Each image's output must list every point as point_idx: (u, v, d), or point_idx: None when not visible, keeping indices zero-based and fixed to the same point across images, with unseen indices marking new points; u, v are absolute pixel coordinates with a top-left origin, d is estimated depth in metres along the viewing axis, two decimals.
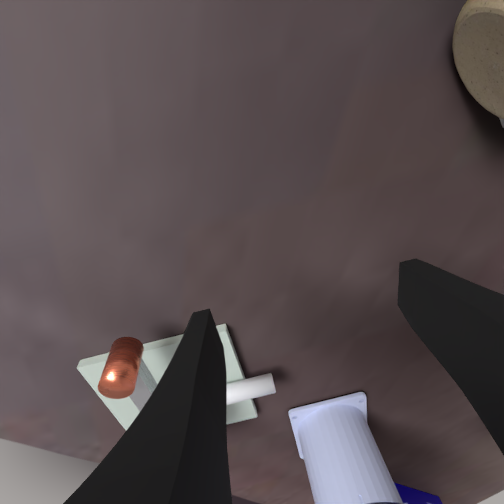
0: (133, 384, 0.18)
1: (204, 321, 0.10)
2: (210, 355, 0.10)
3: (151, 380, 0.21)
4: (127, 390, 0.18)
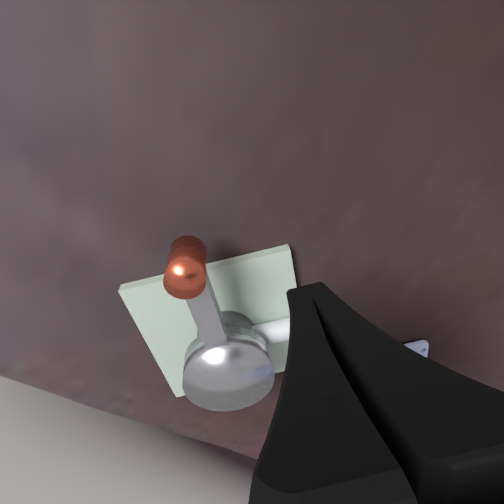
0: (205, 279, 0.15)
1: (307, 296, 0.10)
2: None
3: (213, 293, 0.18)
4: (197, 287, 0.15)
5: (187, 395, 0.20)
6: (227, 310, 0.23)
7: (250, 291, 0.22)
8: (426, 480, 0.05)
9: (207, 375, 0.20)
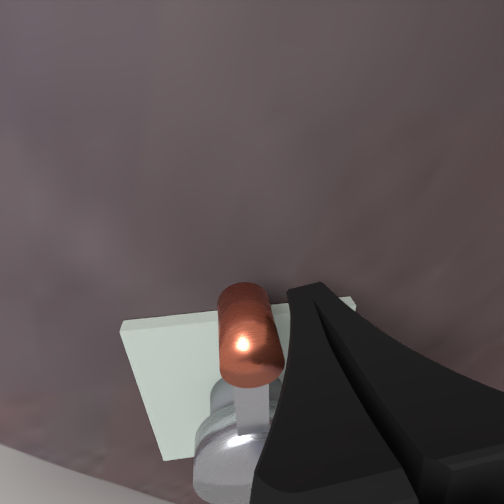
0: (284, 364, 0.10)
1: (308, 296, 0.10)
2: None
3: None
4: (268, 374, 0.10)
5: (196, 489, 0.15)
6: None
7: None
8: (425, 480, 0.05)
9: (231, 469, 0.14)
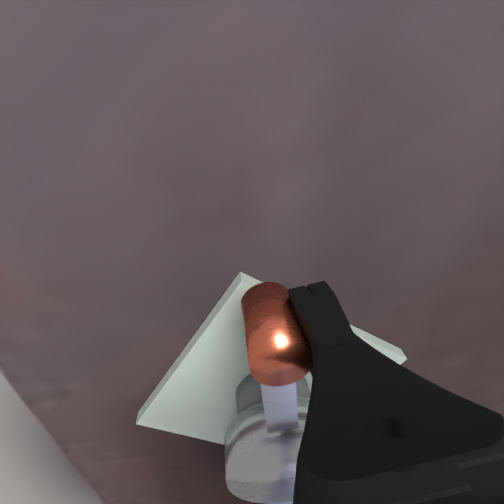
0: (312, 361, 0.10)
1: (329, 291, 0.10)
2: None
3: None
4: (297, 371, 0.10)
5: (229, 487, 0.15)
6: None
7: None
8: None
9: (263, 465, 0.14)
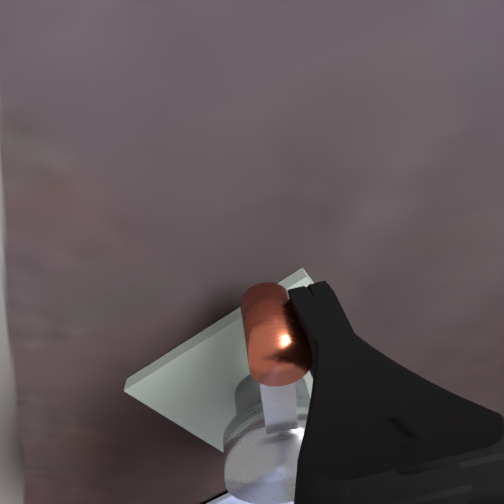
0: (311, 361, 0.10)
1: (329, 291, 0.10)
2: None
3: None
4: (296, 371, 0.10)
5: (228, 487, 0.15)
6: (306, 381, 0.19)
7: None
8: None
9: (261, 466, 0.14)
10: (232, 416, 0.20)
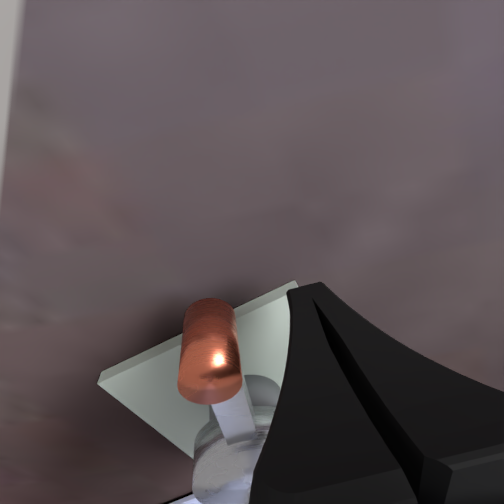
0: (241, 378, 0.10)
1: (307, 296, 0.10)
2: None
3: (242, 374, 0.13)
4: (228, 389, 0.10)
5: (198, 498, 0.15)
6: None
7: None
8: (427, 480, 0.05)
9: (227, 476, 0.14)
10: (204, 419, 0.19)
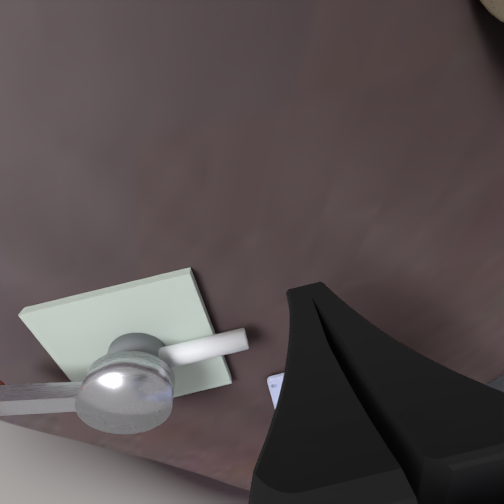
0: None
1: (307, 296, 0.10)
2: None
3: (24, 389, 0.20)
4: None
5: (133, 432, 0.22)
6: (135, 332, 0.23)
7: (156, 313, 0.22)
8: (427, 481, 0.05)
9: (108, 418, 0.21)
10: None
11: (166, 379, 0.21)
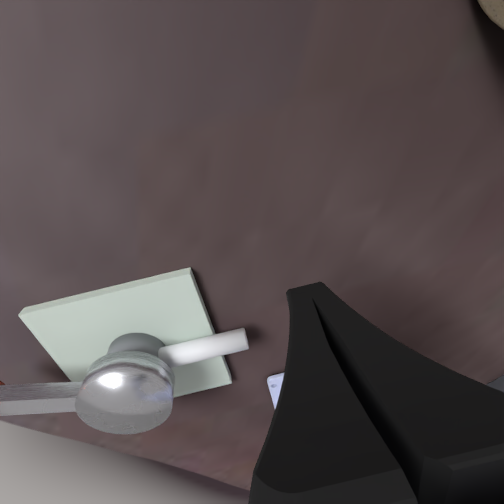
0: None
1: (307, 296, 0.10)
2: None
3: (24, 389, 0.20)
4: None
5: (133, 432, 0.22)
6: (135, 332, 0.23)
7: (156, 313, 0.22)
8: (426, 481, 0.05)
9: (108, 418, 0.21)
10: None
11: (166, 379, 0.21)
